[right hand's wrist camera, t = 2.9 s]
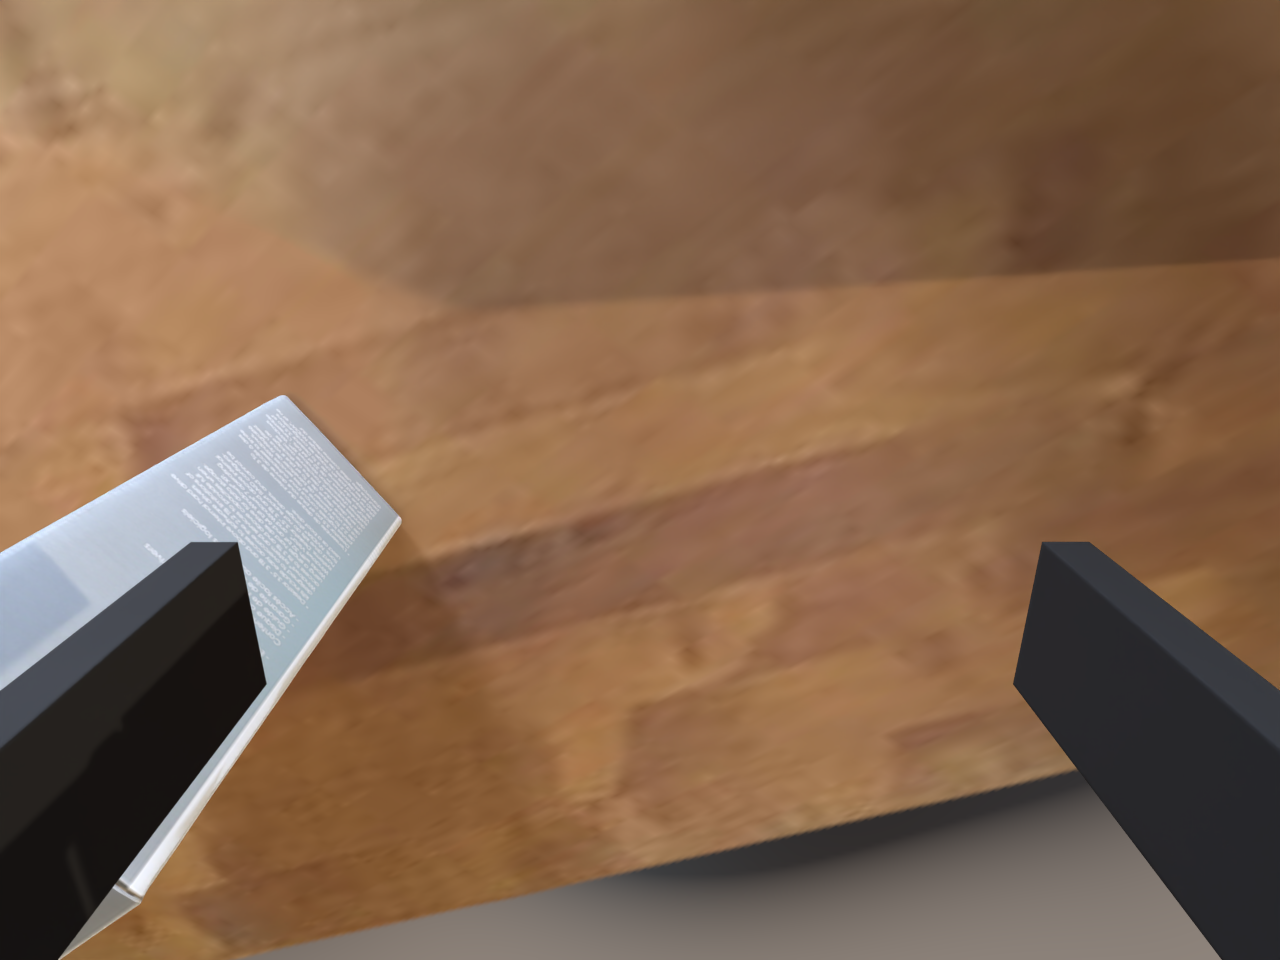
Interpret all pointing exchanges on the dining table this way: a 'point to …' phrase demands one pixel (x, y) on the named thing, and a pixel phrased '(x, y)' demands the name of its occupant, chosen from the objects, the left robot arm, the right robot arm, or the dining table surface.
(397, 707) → the dining table surface
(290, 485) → the hard drive box
